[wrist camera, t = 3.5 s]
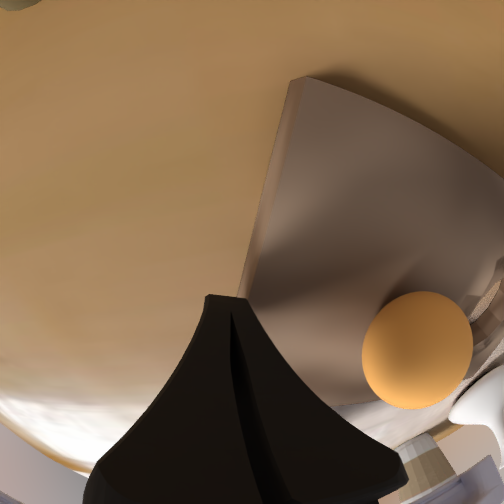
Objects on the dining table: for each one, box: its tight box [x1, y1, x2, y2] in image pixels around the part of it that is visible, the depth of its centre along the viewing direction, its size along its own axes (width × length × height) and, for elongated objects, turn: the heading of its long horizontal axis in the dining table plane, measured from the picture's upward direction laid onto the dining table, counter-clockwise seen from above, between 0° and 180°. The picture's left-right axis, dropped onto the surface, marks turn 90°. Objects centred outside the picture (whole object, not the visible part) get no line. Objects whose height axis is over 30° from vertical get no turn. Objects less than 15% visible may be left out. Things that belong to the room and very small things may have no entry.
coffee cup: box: [394, 433, 457, 504], centre depth 26 cm, size 11×11×15 cm
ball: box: [362, 291, 473, 409], centre depth 10 cm, size 5×5×5 cm
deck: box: [237, 76, 504, 407], centre depth 14 cm, size 16×24×2 cm, turn 77°
